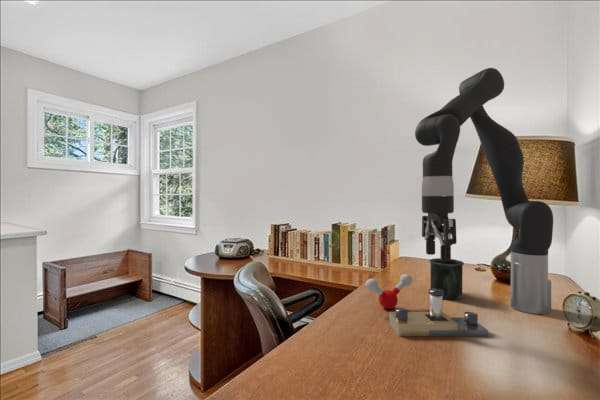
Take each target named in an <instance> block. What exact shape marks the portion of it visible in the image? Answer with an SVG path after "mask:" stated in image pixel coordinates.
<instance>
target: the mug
mask: <svg viewBox="0 0 600 400" xmlns="http://www.w3.org/2000/svg"><path fill="white" fill-rule="evenodd" d="M429 263H430V281H429V282H430V285H429V286H430V287H429V289H440V290H443V291H444V295H443V296H442V300H443V299H444V300H451V301H453V300H459V299H461V298H462V297H463V266H464V264H465V263H464V261H461V260H458V259H453V258H451V260H450V261H442V260H441V257H440V258H431V259H429Z"/></svg>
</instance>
